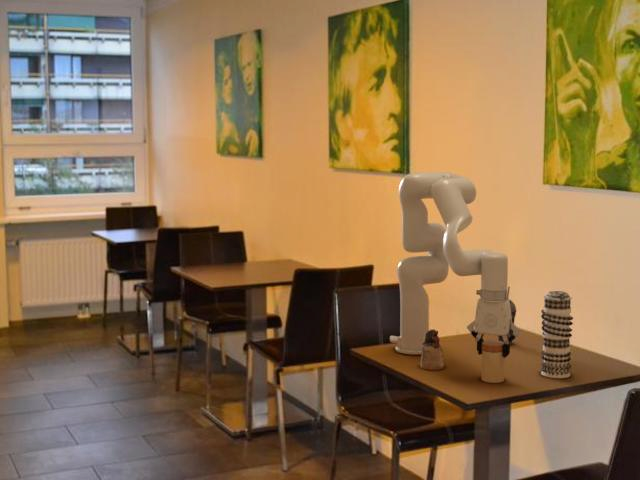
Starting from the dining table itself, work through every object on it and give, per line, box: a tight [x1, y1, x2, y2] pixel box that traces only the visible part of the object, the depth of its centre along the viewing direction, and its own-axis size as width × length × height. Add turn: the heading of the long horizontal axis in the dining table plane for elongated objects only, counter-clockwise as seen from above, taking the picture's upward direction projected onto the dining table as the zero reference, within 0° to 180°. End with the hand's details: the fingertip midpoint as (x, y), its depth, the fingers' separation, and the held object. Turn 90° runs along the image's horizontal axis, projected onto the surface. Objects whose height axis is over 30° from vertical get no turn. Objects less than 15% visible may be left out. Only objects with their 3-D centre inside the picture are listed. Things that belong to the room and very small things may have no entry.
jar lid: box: [481, 339, 504, 352], centre depth 262 cm, size 7×7×2 cm
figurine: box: [419, 328, 445, 371], centre depth 277 cm, size 7×7×12 cm
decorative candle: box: [540, 290, 574, 379], centre depth 267 cm, size 9×9×25 cm
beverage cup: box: [497, 286, 517, 346], centre depth 306 cm, size 7×7×20 cm
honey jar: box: [480, 350, 506, 384], centre depth 262 cm, size 7×7×11 cm
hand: (493, 354), depth 262 cm, fingers closed on jar lid, 6 cm apart
